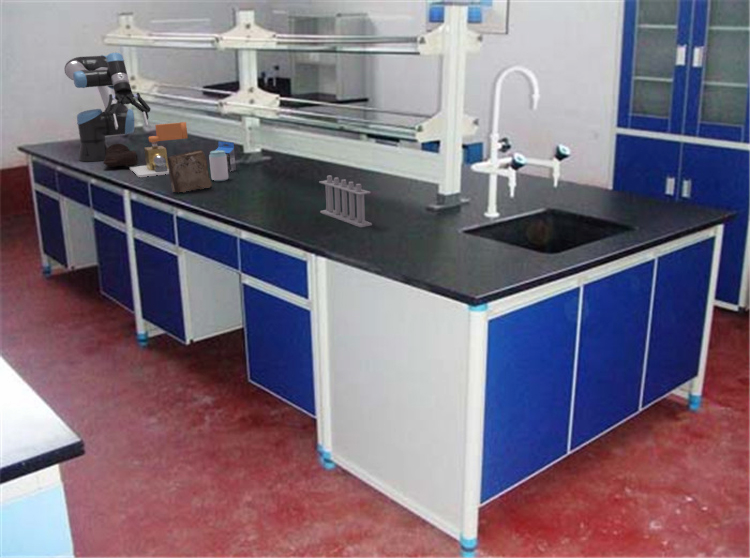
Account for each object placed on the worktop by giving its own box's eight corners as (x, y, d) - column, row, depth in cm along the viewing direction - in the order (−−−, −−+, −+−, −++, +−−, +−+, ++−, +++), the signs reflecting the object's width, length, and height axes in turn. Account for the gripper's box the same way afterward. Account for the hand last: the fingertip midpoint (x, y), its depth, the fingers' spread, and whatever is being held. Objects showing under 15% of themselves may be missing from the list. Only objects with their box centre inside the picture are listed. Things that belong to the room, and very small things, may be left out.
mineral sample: (209, 186, 312) (205, 148, 307) (214, 188, 309) (210, 150, 304) (169, 192, 303) (165, 154, 298) (173, 194, 300) (169, 155, 295)
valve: (144, 165, 354) (140, 140, 350) (161, 163, 357) (158, 138, 353) (153, 172, 337) (149, 146, 333) (171, 170, 340) (168, 144, 336)
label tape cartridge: (214, 170, 343) (212, 142, 339) (220, 168, 347) (217, 141, 343) (231, 171, 339) (228, 143, 335) (236, 170, 343) (234, 142, 339)
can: (228, 177, 327) (226, 149, 323) (228, 181, 321) (225, 152, 317) (211, 178, 326) (209, 150, 322) (211, 182, 320) (208, 153, 316)
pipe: (133, 150, 348) (136, 141, 361) (99, 154, 346) (103, 145, 359) (138, 170, 352) (141, 161, 365) (104, 175, 350) (108, 165, 364)
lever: (150, 142, 340) (148, 126, 338) (148, 141, 344) (146, 125, 342) (188, 138, 347) (187, 122, 345) (186, 137, 351) (184, 121, 349)
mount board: (129, 169, 352) (129, 167, 351) (176, 164, 360) (175, 162, 360) (139, 177, 333) (138, 175, 333) (187, 172, 342) (187, 169, 341)
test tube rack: (372, 225, 250) (370, 185, 245) (360, 227, 247) (359, 187, 243) (331, 210, 269) (329, 173, 265) (320, 213, 267) (318, 175, 262)
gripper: (94, 82, 350) (105, 125, 346) (149, 79, 362) (160, 121, 358) (92, 90, 356) (103, 132, 353) (147, 87, 368) (157, 128, 365)
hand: (132, 126), depth 355 cm, fingers open, 13 cm apart
